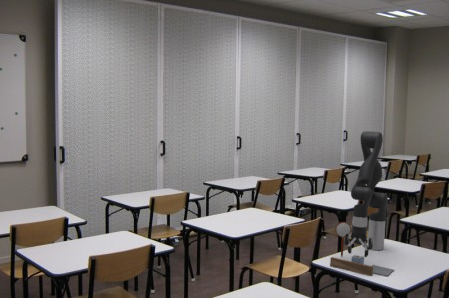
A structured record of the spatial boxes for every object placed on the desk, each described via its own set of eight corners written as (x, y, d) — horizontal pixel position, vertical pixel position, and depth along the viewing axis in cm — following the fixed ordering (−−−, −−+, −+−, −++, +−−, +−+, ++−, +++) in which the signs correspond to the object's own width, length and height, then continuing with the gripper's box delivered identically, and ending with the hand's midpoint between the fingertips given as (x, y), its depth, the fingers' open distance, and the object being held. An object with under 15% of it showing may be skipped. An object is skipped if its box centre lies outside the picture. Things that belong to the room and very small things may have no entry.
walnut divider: (331, 265, 258) (331, 257, 258) (372, 275, 245) (373, 266, 245) (330, 266, 257) (330, 257, 256) (371, 276, 244) (371, 267, 244)
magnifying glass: (334, 257, 271) (336, 222, 269) (333, 256, 273) (335, 221, 270) (349, 257, 271) (351, 222, 269) (349, 256, 273) (351, 221, 271)
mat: (373, 265, 259) (373, 264, 259) (394, 270, 253) (394, 269, 253) (365, 271, 250) (365, 270, 250) (387, 276, 244) (387, 275, 244)
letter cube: (354, 263, 262) (355, 254, 261) (363, 265, 259) (364, 256, 258) (350, 266, 258) (351, 256, 257) (360, 268, 255) (360, 258, 254)
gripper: (375, 225, 255) (373, 256, 256) (349, 221, 263) (347, 250, 265) (370, 228, 249) (368, 259, 250) (343, 223, 257) (342, 253, 259)
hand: (357, 255), depth 258 cm, fingers open, 8 cm apart
